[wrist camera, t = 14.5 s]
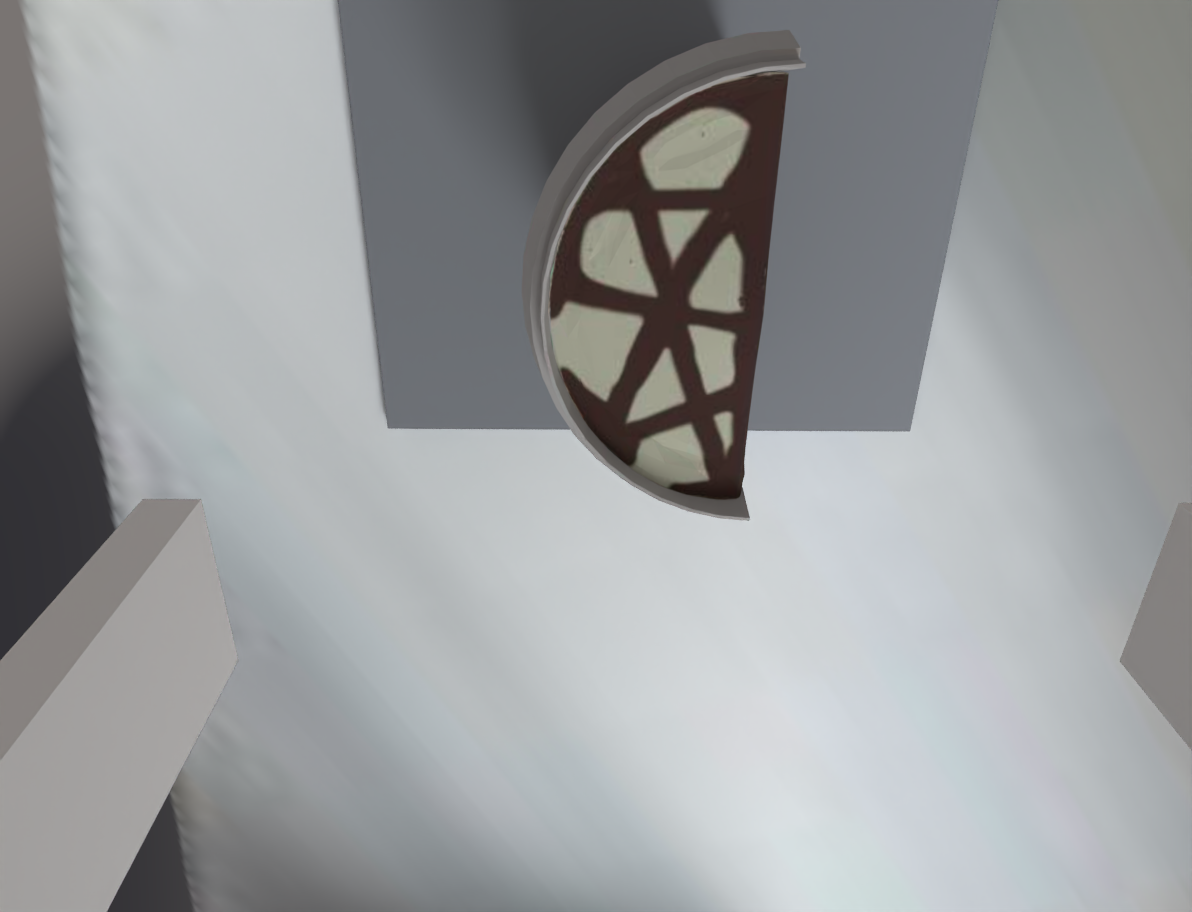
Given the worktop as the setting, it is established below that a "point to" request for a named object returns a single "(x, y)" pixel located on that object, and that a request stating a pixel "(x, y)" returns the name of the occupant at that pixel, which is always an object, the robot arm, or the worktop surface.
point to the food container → (664, 269)
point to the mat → (559, 111)
